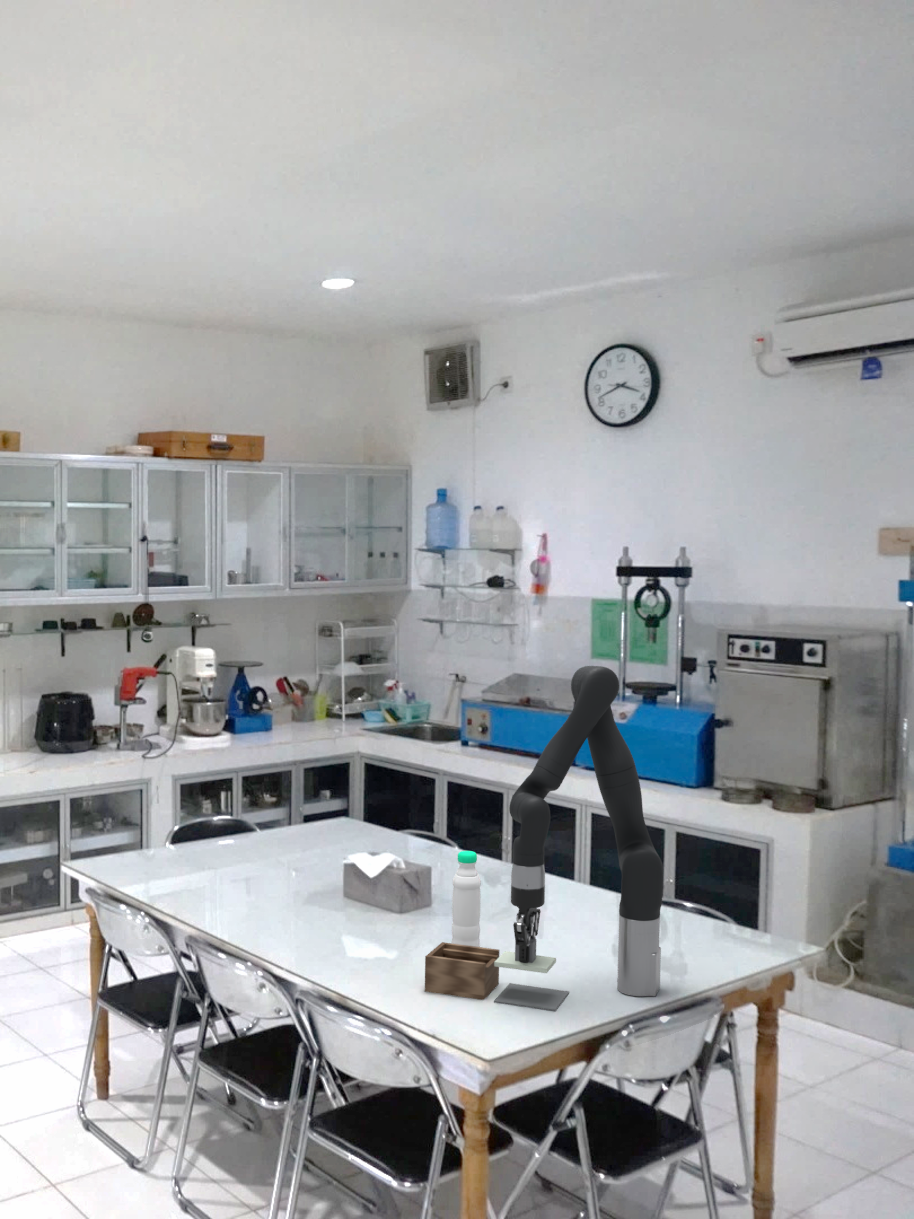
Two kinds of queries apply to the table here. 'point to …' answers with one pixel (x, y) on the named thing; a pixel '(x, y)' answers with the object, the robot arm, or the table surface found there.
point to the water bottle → (466, 901)
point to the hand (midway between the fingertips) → (526, 959)
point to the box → (461, 970)
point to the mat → (532, 997)
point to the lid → (534, 964)
